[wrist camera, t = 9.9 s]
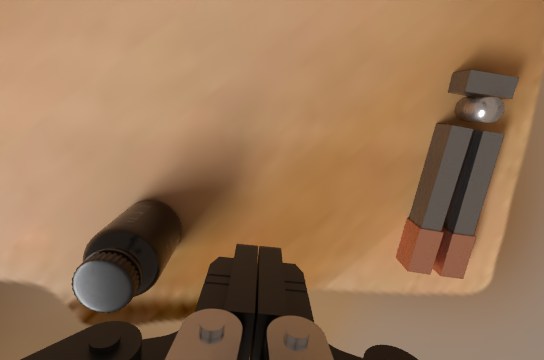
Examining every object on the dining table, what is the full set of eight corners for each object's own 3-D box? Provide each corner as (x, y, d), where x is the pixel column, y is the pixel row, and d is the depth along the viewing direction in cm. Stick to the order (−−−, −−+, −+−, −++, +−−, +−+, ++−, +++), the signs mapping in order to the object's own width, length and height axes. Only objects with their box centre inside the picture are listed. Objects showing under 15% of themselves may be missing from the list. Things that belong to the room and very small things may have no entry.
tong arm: (434, 123, 34) (451, 125, 31) (457, 127, 35) (476, 129, 31) (395, 257, 38) (407, 271, 35) (416, 260, 38) (430, 274, 35)
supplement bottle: (116, 244, 37) (46, 309, 25) (132, 190, 35) (66, 232, 24) (173, 263, 37) (132, 335, 26) (191, 211, 36) (156, 262, 24)
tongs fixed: (452, 72, 33) (477, 68, 29) (501, 80, 34) (532, 77, 30) (404, 259, 38) (420, 277, 34) (446, 264, 38) (467, 282, 34)
